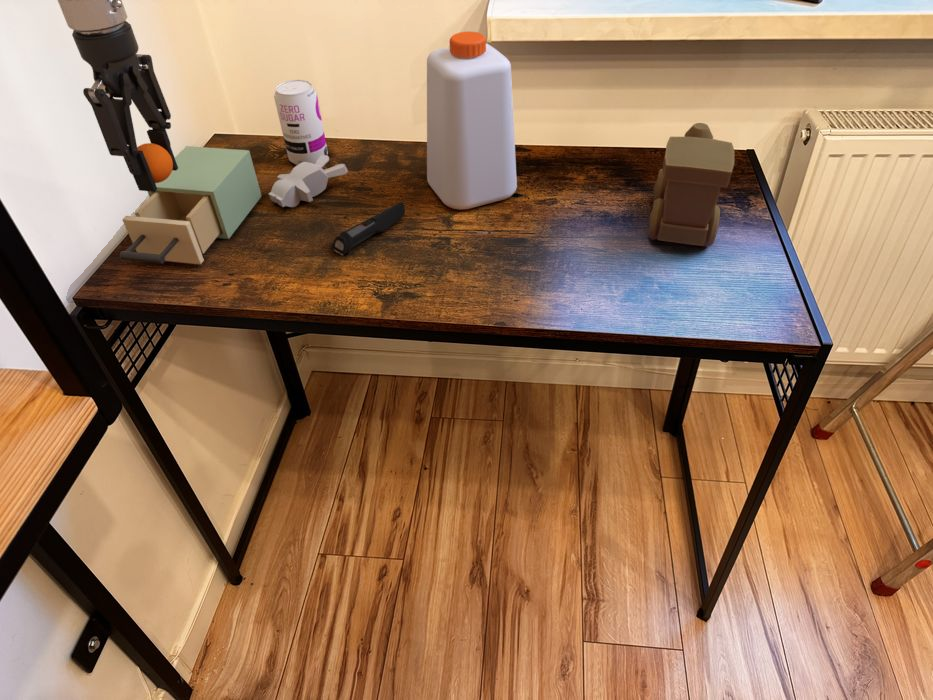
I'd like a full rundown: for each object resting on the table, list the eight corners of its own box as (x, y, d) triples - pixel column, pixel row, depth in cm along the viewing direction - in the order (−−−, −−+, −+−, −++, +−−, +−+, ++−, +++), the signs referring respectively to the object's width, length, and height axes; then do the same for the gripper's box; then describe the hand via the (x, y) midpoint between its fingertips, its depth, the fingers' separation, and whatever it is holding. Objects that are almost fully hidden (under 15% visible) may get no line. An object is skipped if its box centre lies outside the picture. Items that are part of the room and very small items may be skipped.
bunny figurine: (256, 181, 125) (318, 143, 132) (265, 203, 129) (324, 165, 136) (286, 198, 121) (348, 158, 127) (295, 221, 125) (355, 181, 131)
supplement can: (324, 145, 143) (311, 75, 133) (331, 163, 138) (318, 91, 127) (286, 152, 142) (270, 82, 131) (291, 170, 136) (275, 98, 126)
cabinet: (228, 239, 119) (213, 191, 112) (164, 233, 121) (145, 186, 114) (261, 196, 129) (249, 150, 123) (202, 191, 131) (186, 145, 125)
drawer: (183, 287, 108) (166, 247, 103) (119, 280, 110) (100, 241, 104) (235, 220, 122) (223, 182, 116) (178, 215, 124) (163, 177, 118)
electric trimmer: (411, 220, 122) (410, 204, 120) (345, 257, 114) (342, 242, 112) (397, 212, 124) (395, 197, 122) (331, 249, 116) (328, 233, 114)
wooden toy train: (713, 262, 110) (738, 171, 99) (642, 252, 113) (659, 163, 101) (715, 199, 124) (738, 113, 112) (652, 192, 126) (668, 106, 115)
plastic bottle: (490, 162, 136) (490, 16, 117) (524, 197, 126) (529, 43, 107) (421, 179, 132) (408, 30, 113) (450, 216, 122) (442, 61, 103)
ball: (131, 188, 105) (116, 153, 101) (151, 169, 109) (137, 134, 105) (166, 191, 104) (152, 156, 100) (184, 172, 108) (172, 137, 104)
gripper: (83, 53, 83) (149, 213, 99) (161, 4, 96) (208, 152, 112) (30, 50, 84) (104, 209, 100) (114, 2, 97) (167, 149, 114)
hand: (159, 178), depth 106 cm, fingers closed on ball, 6 cm apart
